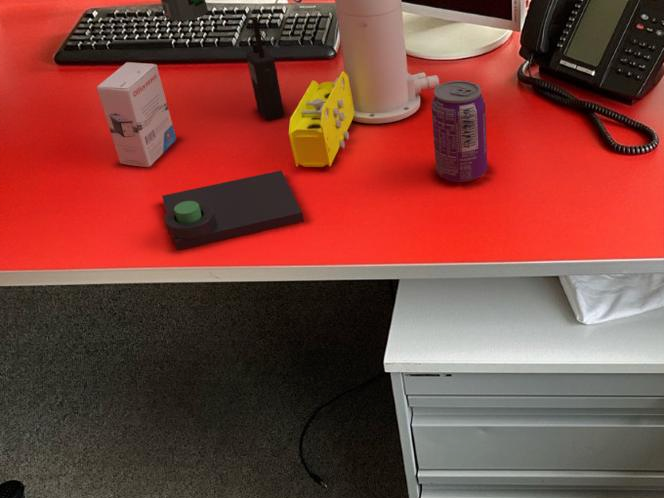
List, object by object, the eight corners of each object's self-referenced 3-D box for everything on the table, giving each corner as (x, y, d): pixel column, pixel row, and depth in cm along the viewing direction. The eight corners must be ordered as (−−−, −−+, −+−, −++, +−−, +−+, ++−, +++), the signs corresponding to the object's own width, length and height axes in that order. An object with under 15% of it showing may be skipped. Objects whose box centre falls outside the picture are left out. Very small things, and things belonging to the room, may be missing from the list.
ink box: (148, 137, 133) (125, 60, 126) (179, 140, 133) (158, 62, 125) (119, 165, 127) (92, 86, 119) (151, 168, 126) (127, 88, 119)
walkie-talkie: (256, 110, 140) (236, 12, 130) (277, 105, 141) (258, 8, 131) (267, 122, 136) (246, 23, 126) (288, 116, 138) (269, 18, 128)
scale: (283, 179, 123) (279, 159, 121) (305, 223, 115) (301, 202, 113) (161, 205, 119) (155, 185, 117) (174, 253, 110) (167, 232, 108)
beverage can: (494, 164, 125) (492, 82, 117) (477, 189, 120) (473, 105, 112) (447, 157, 127) (442, 76, 119) (428, 181, 122) (421, 98, 114)
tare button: (199, 209, 113) (196, 198, 112) (203, 221, 111) (200, 210, 110) (175, 214, 112) (172, 204, 111) (179, 226, 110) (175, 215, 109)
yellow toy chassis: (334, 171, 124) (323, 115, 119) (295, 171, 125) (282, 115, 119) (358, 119, 136) (349, 66, 130) (322, 119, 137) (311, 66, 131)
